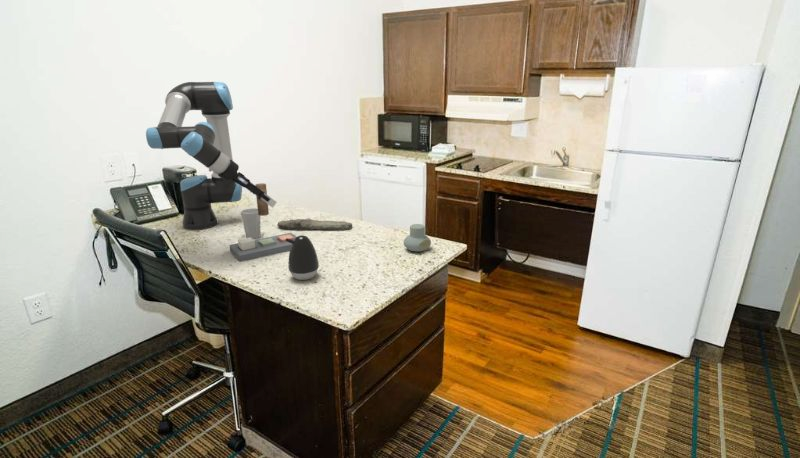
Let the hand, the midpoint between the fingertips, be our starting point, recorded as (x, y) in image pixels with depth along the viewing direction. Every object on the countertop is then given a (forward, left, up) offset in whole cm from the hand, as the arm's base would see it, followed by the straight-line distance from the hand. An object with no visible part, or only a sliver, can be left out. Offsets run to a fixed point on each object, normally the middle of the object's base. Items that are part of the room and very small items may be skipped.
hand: (272, 203), depth 171 cm
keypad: (0, -4, -19) cm, 19 cm away
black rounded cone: (+34, -3, -19) cm, 39 cm away
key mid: (0, -4, -18) cm, 19 cm away
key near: (0, -12, -16) cm, 20 cm away
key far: (0, +4, -18) cm, 19 cm away
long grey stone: (-14, +24, -19) cm, 34 cm away
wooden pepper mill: (0, -4, -4) cm, 6 cm away
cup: (-18, -4, -19) cm, 26 cm away
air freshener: (+36, +45, -19) cm, 61 cm away
